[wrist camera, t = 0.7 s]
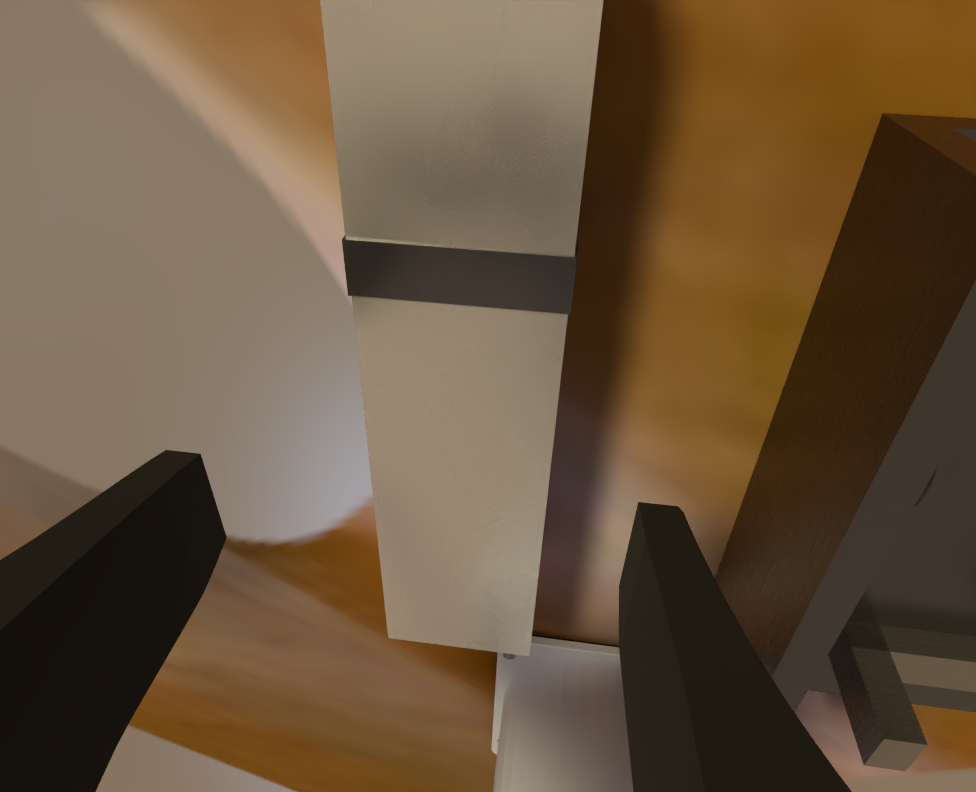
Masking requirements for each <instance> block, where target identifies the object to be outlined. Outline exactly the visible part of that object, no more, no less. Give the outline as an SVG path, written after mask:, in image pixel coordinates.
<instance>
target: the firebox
mask: <svg viewBox="0 0 976 792" xmlns="http://www.w3.org/2000/svg"><path fill="white" fill-rule="evenodd" d="M715 580H716V582H717V584H718V586H719V588H720V590H721V592H722V594H723V596H724V597H725V599H726V601H727V603H728V605H729V606H730V608H731V610H732V612H733V614H734V615H735V617H736V619H737V621H738V622H739V624H740V626H741V628H742V629H743V631H744V633H745V635H746V636H747V638H748V640H749V642H750V643H751V645H752V647H753V648H754V650H755V652H756V653H757V655H758V657H759V658H760V660H761V662H762V663H763V665H764V666H765V668H766V670H767V671H768V673H769V674H770V676H771V677H772V679H773V681H774V682H775V684H776V685H777V687H778V688H779V690H780V691H781V693H782V695H783V696H784V698H785V699H786V701H787V702H788V704H789V705H790V707H791V708H792V710H793V711H794V712H795V710H796V709H797V707H798V705H799V703H800V702H801V700H802V698H803V697H804V695H805V693H806V691H807V690H812V691H819V692H827V693H834V694H841V695H842V699H843V702H844V705H845V708H846V711H847V714H848V717H849V720H850V724H851V727H852V730H853V733H854V736H855V739H856V742H857V745H858V748H859V752H860V755H861V758H862V761H863V764H864V765H866V766H873V767H880V768H887V769H894V770H901V771H906V770H907V769H908V767H909V766H910V765H911V764H912V763H913V762H914V760H915V759H916V758H917V757H918V756H919V755H920V753H921V752H922V751H923V750H924V749H925V748H926V746H927V742H926V740H925V737H924V735H923V732H922V730H921V727H920V725H919V722H918V720H917V717H916V715H915V713H914V710H913V708H912V705H911V704H917V705H925V706H932V707H940V708H947V709H955V710H962V711H970V712H976V119H971V118H954V117H936V116H919V115H901V114H884V113H883V114H882V117H881V120H880V123H879V125H878V128H877V131H876V134H875V136H874V139H873V142H872V145H871V147H870V150H869V153H868V156H867V159H866V161H865V164H864V167H863V170H862V172H861V175H860V178H859V181H858V183H857V186H856V189H855V192H854V195H853V197H852V200H851V203H850V206H849V208H848V211H847V214H846V217H845V219H844V222H843V225H842V228H841V231H840V233H839V236H838V239H837V242H836V244H835V247H834V250H833V253H832V255H831V258H830V261H829V264H828V267H827V269H826V272H825V275H824V278H823V280H822V283H821V286H820V289H819V291H818V294H817V297H816V300H815V303H814V305H813V308H812V311H811V314H810V316H809V319H808V322H807V325H806V327H805V330H804V333H803V336H802V339H801V341H800V344H799V347H798V350H797V352H796V355H795V358H794V361H793V363H792V366H791V369H790V372H789V375H788V377H787V380H786V383H785V386H784V388H783V391H782V394H781V397H780V399H779V402H778V405H777V408H776V411H775V413H774V416H773V419H772V422H771V424H770V427H769V430H768V433H767V435H766V438H765V441H764V444H763V446H762V449H761V452H760V455H759V458H758V460H757V463H756V466H755V469H754V471H753V474H752V477H751V480H750V482H749V485H748V488H747V491H746V494H745V496H744V499H743V502H742V505H741V507H740V510H739V513H738V516H737V518H736V521H735V524H734V527H733V530H732V532H731V535H730V538H729V541H728V543H727V546H726V549H725V552H724V554H723V557H722V560H721V563H720V566H719V568H718V571H717V574H716V577H715Z"/></svg>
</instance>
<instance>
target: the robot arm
mask: <svg viewBox="0 0 976 792" xmlns="http://www.w3.org/2000/svg"><path fill="white" fill-rule="evenodd" d="M225 540H226V534H225V531H224V528H223V525H222V521H221V518H220V515H219V512H218V509H217V505H216V502H215V499H214V496H213V492H212V489H211V486H210V483H209V480H208V477H207V473H206V470H205V467H204V464H203V460H202V457H201V454H197V453H188V452H178V451H170V450H165V451H164V452H162V453H161V454H159V455H157V456H156V457H154V458H153V459H151V460H150V461H148V462H147V463H145V464H144V465H142V466H141V467H139V468H138V469H136V470H135V471H133V472H132V473H130V474H129V475H127V476H126V477H124V478H123V479H121V480H120V481H119V482H117V483H116V484H114V485H113V486H111V487H110V488H109V489H107V490H105V491H104V492H103V493H101V494H100V495H98V496H97V497H95V498H94V499H92V500H91V501H90V502H88V503H87V504H85V505H84V506H82V507H81V508H79V509H78V510H76V511H75V512H73V513H72V514H70V515H69V516H67V517H66V518H64V519H63V520H61V521H60V522H59V523H57V524H56V525H54V526H53V527H51V528H50V529H48V530H47V531H45V532H44V533H42V534H41V535H39V536H38V537H36V538H35V539H33V540H32V541H30V542H28V543H27V544H25V545H24V546H22V547H20V548H19V549H17V550H16V551H14V552H12V553H11V554H9V555H8V556H6V557H5V558H3V559H1V560H0V792H95V791H96V789H97V787H98V785H99V783H100V781H101V778H102V776H103V774H104V772H105V769H106V768H107V765H108V763H109V761H110V759H111V757H112V755H113V752H114V750H115V748H116V746H117V744H118V742H119V740H120V739H121V737H122V735H123V733H124V731H125V729H126V727H127V726H128V724H129V722H130V720H131V718H132V716H133V715H134V713H135V711H136V709H137V708H138V706H139V704H140V703H141V701H142V699H143V697H144V696H145V694H146V692H147V691H148V689H149V687H150V685H151V684H152V682H153V680H154V678H155V677H156V675H157V673H158V672H159V670H160V668H161V666H162V665H163V663H164V661H165V660H166V658H167V656H168V654H169V653H170V651H171V649H172V648H173V646H174V644H175V642H176V641H177V639H178V637H179V636H180V634H181V632H182V630H183V629H184V627H185V625H186V623H187V622H188V620H189V618H190V616H191V615H192V613H193V611H194V609H195V608H196V606H197V604H198V602H199V600H200V599H201V597H202V595H203V593H204V591H205V588H206V586H207V584H208V582H209V579H210V577H211V575H212V572H213V570H214V568H215V565H216V563H217V560H218V558H219V555H220V553H221V550H222V548H223V545H224V543H225ZM492 751H493V753H495V754H496V755H497V761H496V769H495V778H494V787H493V792H851V790H850V789H849V788H848V786H847V785H846V784H845V782H844V781H843V780H842V778H841V777H840V776H839V775H838V773H837V772H836V771H835V769H834V768H833V766H832V765H831V764H830V762H829V761H828V759H827V758H826V757H825V755H824V754H823V753H822V751H821V750H820V748H819V747H818V746H817V744H816V743H815V742H814V740H813V739H812V737H811V736H810V735H809V733H808V732H807V730H806V729H805V727H804V726H803V724H802V723H801V722H800V720H799V719H798V717H797V716H796V714H795V713H794V711H793V710H792V708H791V707H790V705H789V704H788V702H787V701H786V699H785V698H784V696H783V695H782V693H781V691H780V690H779V688H778V687H777V685H776V684H775V682H774V681H773V679H772V677H771V676H770V674H769V673H768V671H767V670H766V668H765V666H764V665H763V663H762V662H761V660H760V658H759V657H758V655H757V653H756V652H755V650H754V648H753V647H752V645H751V643H750V642H749V640H748V638H747V636H746V635H745V633H744V631H743V629H742V628H741V626H740V624H739V622H738V621H737V619H736V617H735V615H734V614H733V612H732V610H731V608H730V606H729V605H728V603H727V601H726V599H725V597H724V596H723V594H722V592H721V590H720V588H719V586H718V584H717V582H716V580H715V578H714V577H713V575H712V573H711V571H710V569H709V567H708V565H707V563H706V561H705V559H704V557H703V555H702V553H701V550H700V548H699V546H698V544H697V542H696V540H695V538H694V536H693V533H692V531H691V529H690V527H689V524H688V522H687V520H686V517H685V515H684V513H683V512H682V510H681V509H680V508H679V507H678V506H669V505H660V504H651V503H642V502H638V506H637V511H636V515H635V519H634V524H633V528H632V532H631V537H630V541H629V545H628V550H627V554H626V559H625V563H624V567H623V572H622V576H621V580H620V585H619V647H612V646H605V645H597V644H589V643H582V642H574V641H566V640H559V639H551V638H543V637H536V636H532V638H531V647H530V655H529V656H523V655H515V654H508V653H500V652H498V653H497V669H496V685H495V701H494V717H493V733H492Z"/></svg>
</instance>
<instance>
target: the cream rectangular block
mask: <svg viewBox="0 0 976 792" xmlns="http://www.w3.org/2000/svg"><path fill="white" fill-rule="evenodd" d="M320 3H321V12H322V22H323V31H324V40H325V50H326V59H327V69H328V78H329V87H330V97H331V106H332V115H333V125H334V134H335V143H336V153H337V162H338V172H339V181H340V190H341V200H342V209H343V218H344V228H345V236H344V237H343V239H342V244H343V253H344V262H345V271H346V280H347V289H348V296H352V303H353V312H354V321H355V330H356V340H357V349H358V359H359V368H360V377H361V386H362V396H363V405H364V415H365V424H366V434H367V442H368V452H369V462H370V471H371V480H372V490H373V499H374V508H375V518H376V527H377V537H378V546H379V555H380V565H381V574H382V583H383V593H384V602H385V611H386V621H387V630H388V638H393V639H401V640H408V641H416V642H424V643H431V644H439V645H447V646H454V647H462V648H469V649H477V650H485V651H492V652H500V653H508V654H515V655H523V656H529V655H530V647H531V638H532V629H533V620H534V611H535V602H536V593H537V585H538V576H539V567H540V558H541V549H542V540H543V531H544V522H545V514H546V505H547V496H548V487H549V478H550V469H551V460H552V452H553V443H554V434H555V425H556V416H557V407H558V398H559V390H560V381H561V372H562V363H563V354H564V345H565V336H566V328H567V319H568V314H570V315H571V307H572V298H573V290H574V281H575V272H576V264H577V251H578V226H579V212H580V204H581V195H582V186H583V177H584V168H585V159H586V150H587V142H588V133H589V124H590V115H591V106H592V97H593V88H594V80H595V71H596V62H597V53H598V44H599V35H600V26H601V18H602V9H603V0H320Z"/></svg>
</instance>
